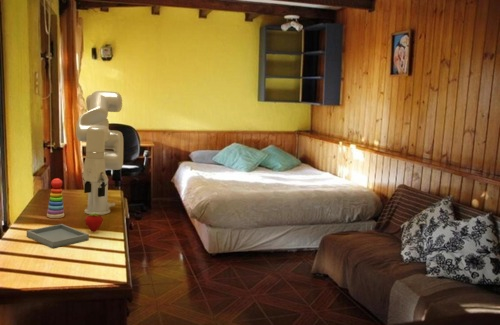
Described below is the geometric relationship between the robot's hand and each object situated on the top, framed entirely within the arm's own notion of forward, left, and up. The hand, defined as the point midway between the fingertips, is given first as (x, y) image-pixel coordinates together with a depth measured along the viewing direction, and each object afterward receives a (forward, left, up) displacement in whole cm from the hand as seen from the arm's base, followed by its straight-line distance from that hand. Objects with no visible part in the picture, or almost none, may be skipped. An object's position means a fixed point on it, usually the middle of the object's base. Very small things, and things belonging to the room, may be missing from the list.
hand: (94, 194), depth 207 cm
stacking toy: (-1, -32, -17) cm, 37 cm away
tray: (+16, -2, -17) cm, 23 cm away
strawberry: (0, 0, -17) cm, 17 cm away
